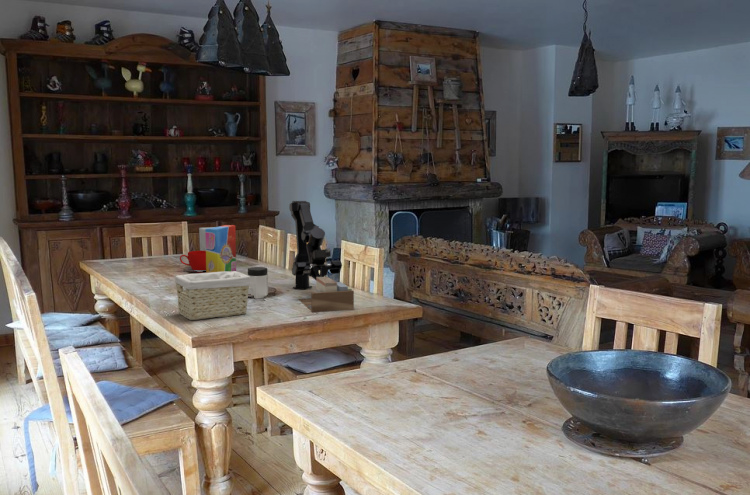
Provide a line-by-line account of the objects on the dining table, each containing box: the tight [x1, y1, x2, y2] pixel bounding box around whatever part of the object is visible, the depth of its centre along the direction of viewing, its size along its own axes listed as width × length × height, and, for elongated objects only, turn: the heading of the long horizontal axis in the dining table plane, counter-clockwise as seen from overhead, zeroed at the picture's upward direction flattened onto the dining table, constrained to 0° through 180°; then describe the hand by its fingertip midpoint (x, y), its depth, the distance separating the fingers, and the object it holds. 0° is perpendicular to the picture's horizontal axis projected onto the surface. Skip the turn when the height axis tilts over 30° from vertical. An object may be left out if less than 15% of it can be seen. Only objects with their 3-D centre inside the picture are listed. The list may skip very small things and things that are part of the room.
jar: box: [247, 266, 269, 300], centre depth 277 cm, size 9×8×12 cm
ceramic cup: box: [179, 250, 206, 271], centre depth 340 cm, size 13×17×10 cm
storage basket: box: [174, 270, 250, 321], centre depth 245 cm, size 24×16×15 cm
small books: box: [336, 281, 353, 291], centre depth 256 cm, size 10×5×8 cm, turn 19°
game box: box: [205, 224, 237, 273], centre depth 299 cm, size 21×6×27 cm, turn 168°
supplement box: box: [198, 226, 215, 251], centre depth 390 cm, size 13×13×18 cm
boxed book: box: [315, 276, 337, 292], centre depth 257 cm, size 14×4×10 cm, turn 19°
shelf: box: [297, 289, 355, 313], centre depth 259 cm, size 25×16×8 cm, turn 19°
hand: (321, 285), depth 263 cm, fingers closed, pressing on boxed book
